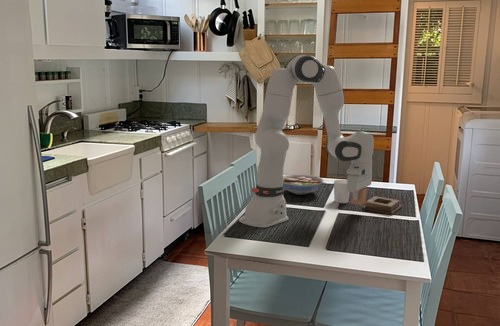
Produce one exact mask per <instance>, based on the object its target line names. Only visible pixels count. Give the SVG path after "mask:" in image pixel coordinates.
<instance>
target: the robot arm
mask: <svg viewBox="0 0 500 326" xmlns="http://www.w3.org/2000/svg"><path fill="white" fill-rule="evenodd" d="M298 83H311V84H312V85H313V88H314V90H315V95H316V99H317V102H318V105H319V108H320V110H321V114H322V116H323V117H322V118H323V122H324V127H325V133H326V142H325V151H326V152H327V154H328V155H330V157H333V158H335V159H337V160H339V161H341V162H350V161H351V163H350V165H349V167H348V168H347V170H346V174H347V178H346V180H347V190H348V192H350V193H352V192H353V196H354V198H353V199H354V200H358V198H359V196H358V192H359V190H361V189H363V188H368V187H370V186H371V185H372V180H373V170H372V169H373V158H372V157H373V154H374V148H375V147H374V144H375V143H374V136H373V134H371V133H369V132H366V131H363V130H357V131H355V132H354V133H352V134H351V135H349V136H346V137H345V136H344V135H343V134H342V131H341V126H340V122H339V121H340V120H339V112H340V110H342V108H343V107H344V104H345V97H344V95H345V94H344V90H343V87H342V83H341V81H340V77H339V74H338V73H337V70H336V69H335V67H333V66H332V65H327V64H326V65H323V64H322V63H321V62H320V61H319V59H317V58H316V57H315V56H313V55H309V54H298V55H296V56H293V57H292V58H290V60H288V62H287V63H286V65H285V66H284V67H277V68H275V69H273V70H272V71H271V73H270V76H269V79H268V82H267V86H266V92H265V96H264V97H265V98H264V102H263V107H262V108H263V109H262V113H261V116H260V119H259V122H258V125H257V128H256V129H257V130H256V131H255V134H254V141H255V144H256V146H257V147H258V148H259V149H260V156H259V162H258V165H257V184H256V186H255V187H252V188H251V190H250V191H251V192H252V193H254V195H252V198H251V199H250V201H249V202H248V204H247V205H246V206H245V210H244V215H242V216H241V217H240V218H239V220H238V221H239V223H241V224H244V225H247V226H249V227H255V228H256V227H257V228H269V227H272V226H274V225H278V224H280V223H283V222H286V221H289V219H290V218H289V216H288V215H287V202H286V199H285V197H284V194H285V188H284V185H283V176H284V167H285V161H286V157H287V156H286V155H287V152H288V150H289V147H290V141H289V139H288V136H287V135H286V133H285V132H283V130H284V127H285V124H286V121H287V120H288V118H289V115H290V111H291V105H292V100H293V93H294V88H295V87H296V85H297V84H298Z"/></svg>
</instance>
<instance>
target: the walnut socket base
mask: <svg viewBox="0 0 500 326" xmlns="http://www.w3.org/2000/svg"><path fill="white" fill-rule="evenodd" d="M402 208H403V205H402V204H400V200H399V199H394V198H387V197H382V196H376V195H375V196H373V197H371V198H369V199H368V200H366V203H365V204H364V205H362V206H361V209H362V210H364V211H369V212H375V213H380V214H385V215H390V216H393V215H395V213H397V212H398V211H400V210H401V209H402Z"/></svg>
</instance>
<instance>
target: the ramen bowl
mask: <svg viewBox="0 0 500 326" xmlns="http://www.w3.org/2000/svg"><path fill="white" fill-rule="evenodd" d="M324 181H325V180H324V179H323V177H320V176H316V175H312V174H303V173H302V174H301V173H297V174H296V173H294V174H286V175H285V174H284V175H283V185H284V190H286V191H288V192H290V193H293V194H294V195H298V196H305V195H308V194H311V193H314V192H316V191H317V190H318V189H319V188H320V187H321V186H322V185H323V184H324Z"/></svg>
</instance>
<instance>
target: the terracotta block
mask: <svg viewBox="0 0 500 326" xmlns="http://www.w3.org/2000/svg"><path fill="white" fill-rule="evenodd" d="M367 193H368V187H366V188H363V189H361V190H359V192H358V196H359V198H358V200H354V199H353V198H354V196H353V192H351V197H350V204H352V205H357V206H361V207H363V206H364V205H365V203H366V201H367Z"/></svg>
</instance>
